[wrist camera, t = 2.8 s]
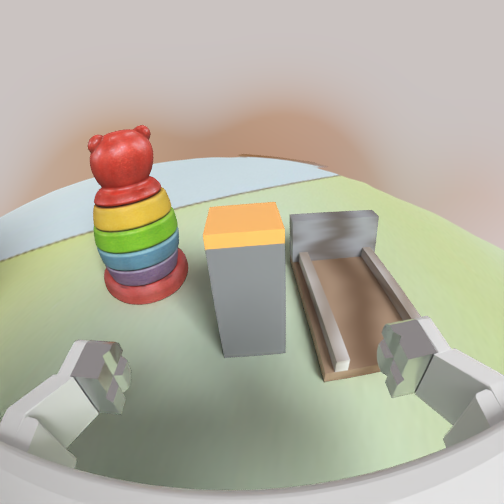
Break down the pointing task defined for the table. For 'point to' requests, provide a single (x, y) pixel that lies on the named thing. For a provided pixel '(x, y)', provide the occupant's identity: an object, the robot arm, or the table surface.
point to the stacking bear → (134, 220)
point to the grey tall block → (247, 277)
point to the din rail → (344, 289)
